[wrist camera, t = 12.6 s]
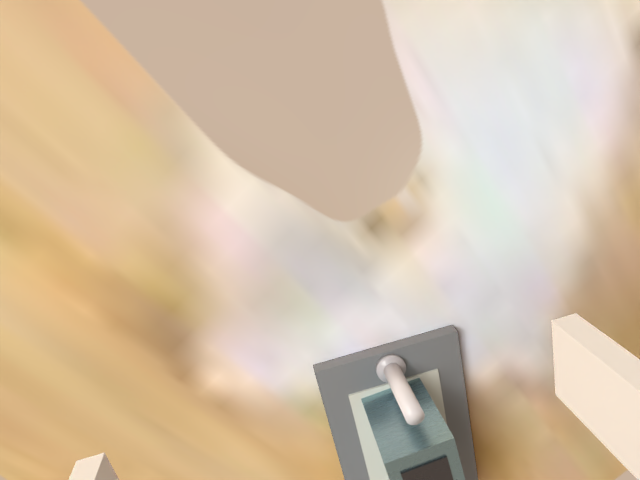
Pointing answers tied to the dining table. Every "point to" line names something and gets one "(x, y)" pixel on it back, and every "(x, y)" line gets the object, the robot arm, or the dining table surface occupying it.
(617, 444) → the robot arm
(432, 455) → the block
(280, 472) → the dining table surface
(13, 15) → the dining table surface
